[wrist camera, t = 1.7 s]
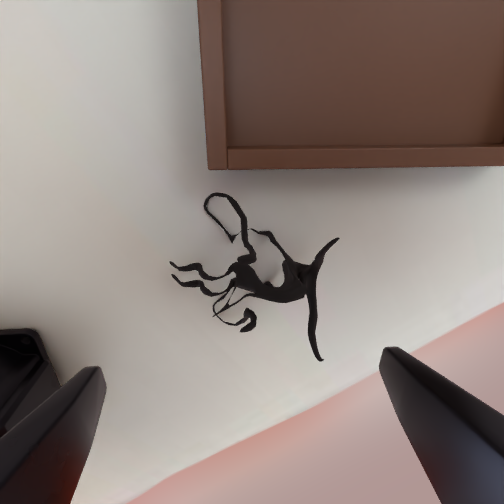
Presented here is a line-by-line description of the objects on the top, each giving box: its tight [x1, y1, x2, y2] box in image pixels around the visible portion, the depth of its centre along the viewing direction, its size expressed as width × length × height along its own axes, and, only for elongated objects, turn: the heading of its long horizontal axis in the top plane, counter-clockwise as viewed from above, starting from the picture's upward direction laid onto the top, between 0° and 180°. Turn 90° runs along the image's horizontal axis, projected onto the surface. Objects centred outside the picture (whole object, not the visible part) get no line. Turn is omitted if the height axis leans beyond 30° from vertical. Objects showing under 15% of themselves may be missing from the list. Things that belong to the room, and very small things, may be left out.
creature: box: [169, 193, 340, 361], centre depth 13 cm, size 8×5×8 cm
